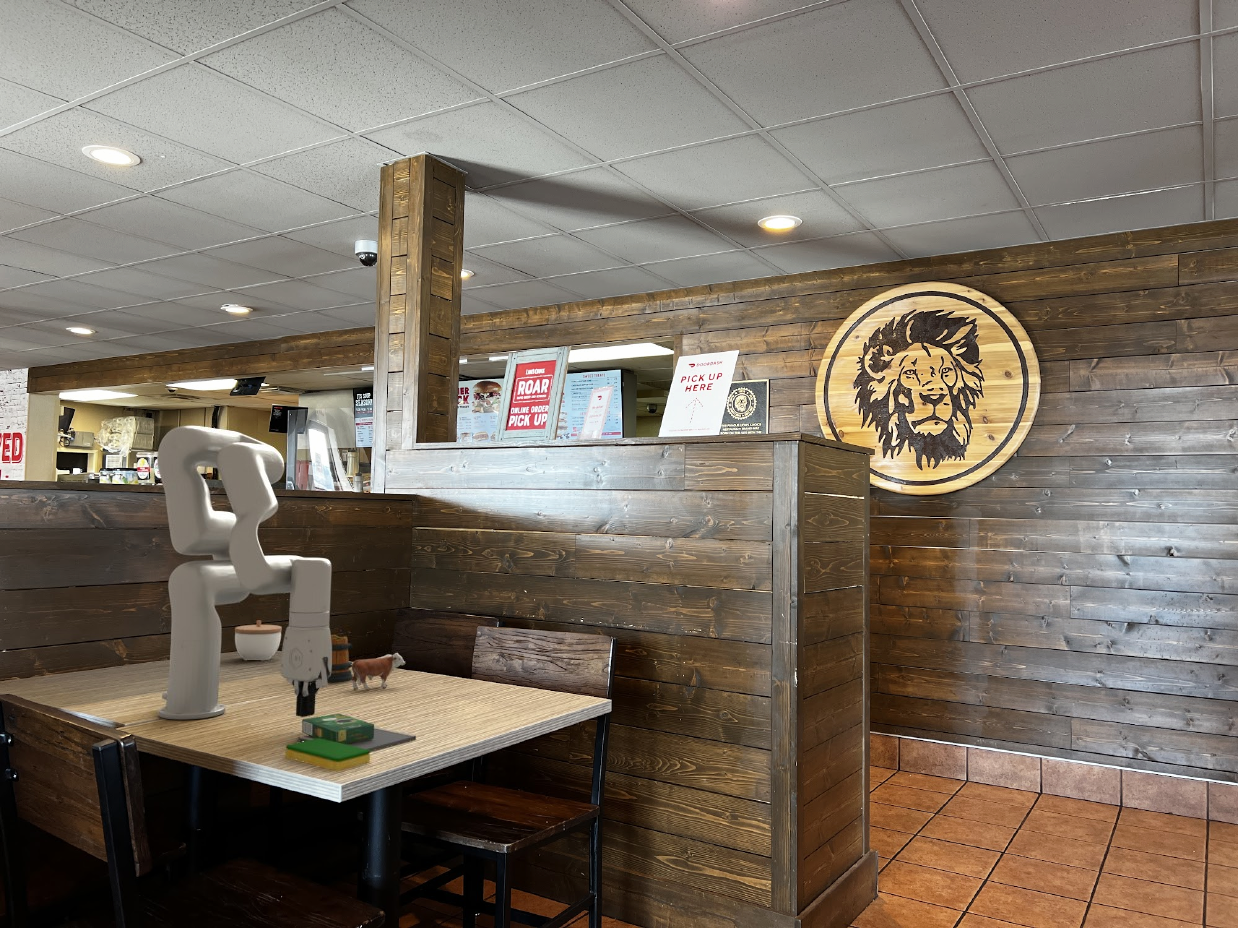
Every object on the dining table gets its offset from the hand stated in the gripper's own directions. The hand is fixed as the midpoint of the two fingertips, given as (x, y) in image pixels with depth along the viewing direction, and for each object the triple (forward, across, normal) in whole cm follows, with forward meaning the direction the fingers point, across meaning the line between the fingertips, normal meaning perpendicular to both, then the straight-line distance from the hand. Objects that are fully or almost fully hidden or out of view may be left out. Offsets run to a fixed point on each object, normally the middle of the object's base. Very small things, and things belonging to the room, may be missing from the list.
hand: (305, 715), depth 173 cm
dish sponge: (+4, +20, -12) cm, 24 cm away
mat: (+3, +14, 0) cm, 15 cm away
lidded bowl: (+3, -81, +48) cm, 94 cm away
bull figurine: (+3, -22, +39) cm, 45 cm away
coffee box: (+1, +5, 0) cm, 5 cm away
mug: (+3, -40, +40) cm, 57 cm away
